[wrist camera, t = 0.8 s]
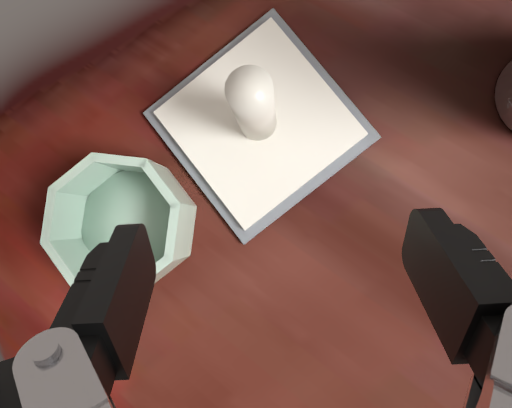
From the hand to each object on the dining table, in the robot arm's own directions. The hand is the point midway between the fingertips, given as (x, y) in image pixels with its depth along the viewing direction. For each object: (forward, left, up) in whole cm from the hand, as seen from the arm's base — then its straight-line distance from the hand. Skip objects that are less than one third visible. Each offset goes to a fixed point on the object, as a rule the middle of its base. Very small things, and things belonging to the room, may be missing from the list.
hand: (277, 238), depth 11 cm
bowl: (+12, -10, -26) cm, 30 cm away
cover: (-4, -10, -25) cm, 27 cm away
